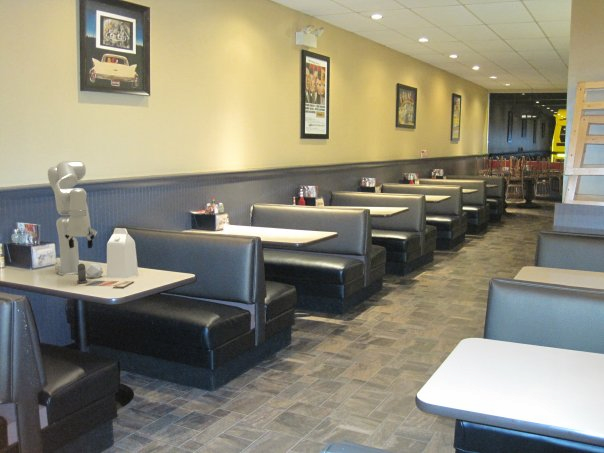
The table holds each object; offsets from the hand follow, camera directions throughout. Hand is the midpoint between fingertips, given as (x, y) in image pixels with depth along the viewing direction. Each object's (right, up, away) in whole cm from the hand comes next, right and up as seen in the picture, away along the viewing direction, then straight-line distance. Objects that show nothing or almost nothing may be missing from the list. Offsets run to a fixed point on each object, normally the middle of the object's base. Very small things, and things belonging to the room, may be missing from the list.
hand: (80, 247), depth 300 cm
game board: (+10, -19, +1) cm, 21 cm away
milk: (+15, -16, +20) cm, 30 cm away
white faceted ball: (+1, -17, +16) cm, 24 cm away
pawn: (0, -18, +2) cm, 18 cm away
